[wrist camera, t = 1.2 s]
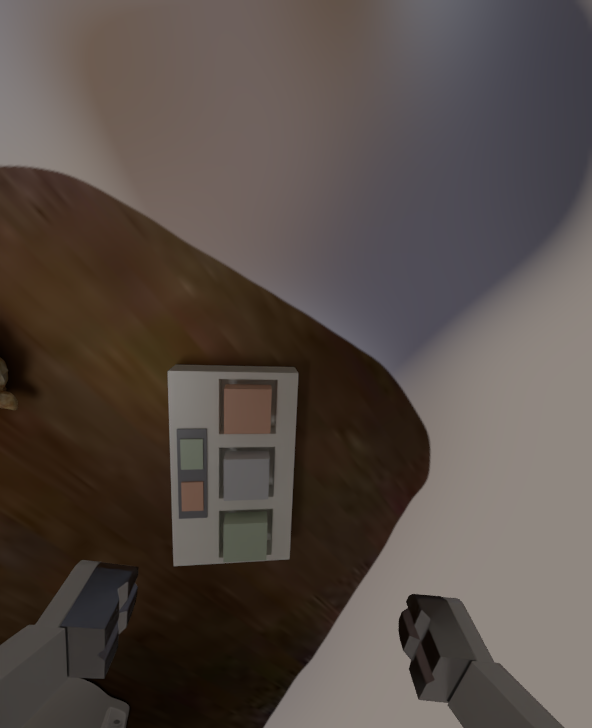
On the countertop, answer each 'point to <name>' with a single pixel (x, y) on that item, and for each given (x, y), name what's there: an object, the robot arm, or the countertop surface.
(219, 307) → the countertop surface
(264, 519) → the sage key
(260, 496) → the grey key
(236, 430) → the terracotta key
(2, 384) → the ginger root
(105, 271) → the countertop surface
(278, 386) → the keypad
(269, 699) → the countertop surface
